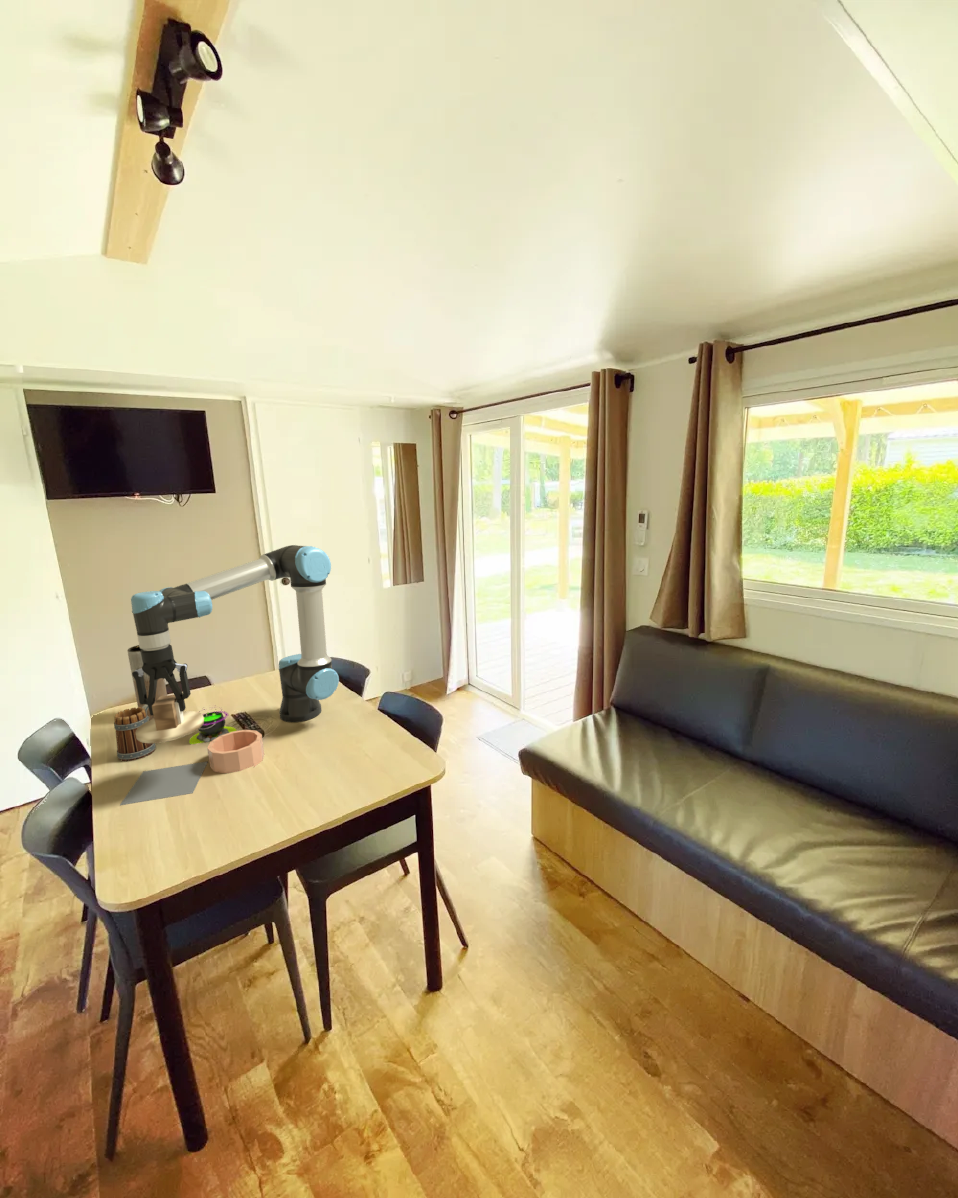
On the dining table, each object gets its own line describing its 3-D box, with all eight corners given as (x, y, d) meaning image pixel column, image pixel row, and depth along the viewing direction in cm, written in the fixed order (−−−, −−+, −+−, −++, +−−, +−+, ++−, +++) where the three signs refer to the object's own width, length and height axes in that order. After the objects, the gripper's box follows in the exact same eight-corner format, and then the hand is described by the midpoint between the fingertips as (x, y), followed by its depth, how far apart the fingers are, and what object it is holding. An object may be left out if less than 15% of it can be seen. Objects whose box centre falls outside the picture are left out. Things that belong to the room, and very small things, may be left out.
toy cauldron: (182, 738, 177) (177, 709, 174) (227, 723, 187) (222, 695, 185) (198, 751, 167) (193, 721, 164) (244, 735, 177) (240, 706, 175)
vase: (175, 713, 197) (163, 645, 191) (147, 723, 189) (134, 652, 183) (162, 708, 202) (150, 641, 197) (135, 717, 194) (122, 648, 189)
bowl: (266, 746, 168) (264, 727, 167) (260, 769, 154) (257, 748, 153) (217, 753, 164) (214, 734, 163) (206, 778, 150) (202, 756, 149)
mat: (208, 763, 159) (208, 761, 159) (193, 795, 142) (192, 793, 142) (143, 773, 154) (143, 771, 154) (119, 807, 137) (119, 805, 137)
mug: (137, 764, 160) (129, 720, 156) (109, 762, 162) (101, 718, 159) (175, 740, 174) (168, 700, 171) (149, 738, 177) (142, 698, 173)
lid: (210, 712, 157) (205, 685, 155) (195, 737, 141) (190, 707, 139) (148, 720, 152) (143, 693, 151) (126, 747, 136) (119, 717, 134)
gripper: (195, 639, 147) (207, 713, 152) (124, 646, 142) (140, 722, 148) (187, 646, 140) (201, 723, 145) (113, 654, 135) (130, 734, 140)
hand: (170, 722), depth 146 cm, fingers closed on lid, 5 cm apart
